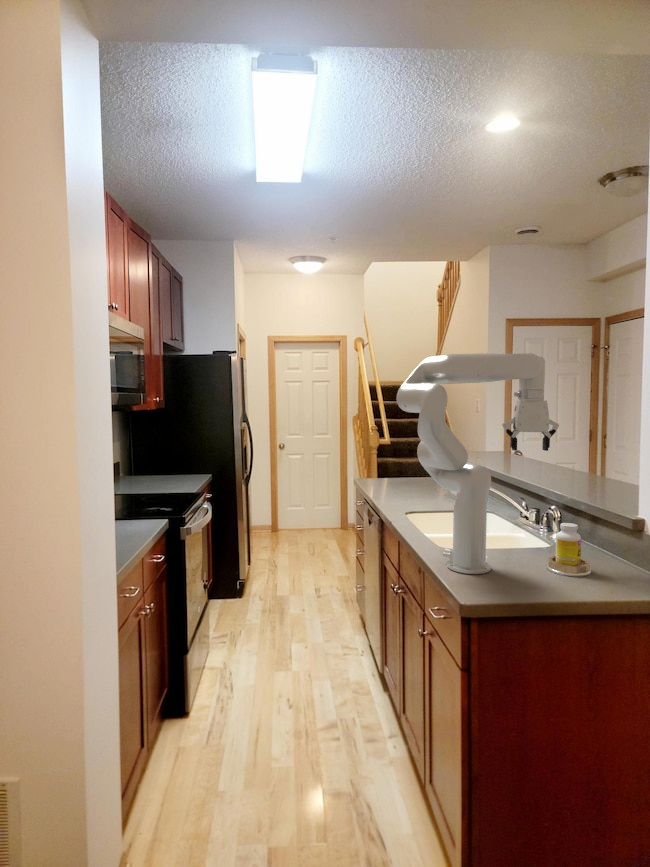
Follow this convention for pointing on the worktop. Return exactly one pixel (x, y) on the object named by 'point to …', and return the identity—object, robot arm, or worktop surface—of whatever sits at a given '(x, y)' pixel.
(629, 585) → the worktop surface
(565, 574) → the flange plate
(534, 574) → the worktop surface
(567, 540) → the supplement bottle
